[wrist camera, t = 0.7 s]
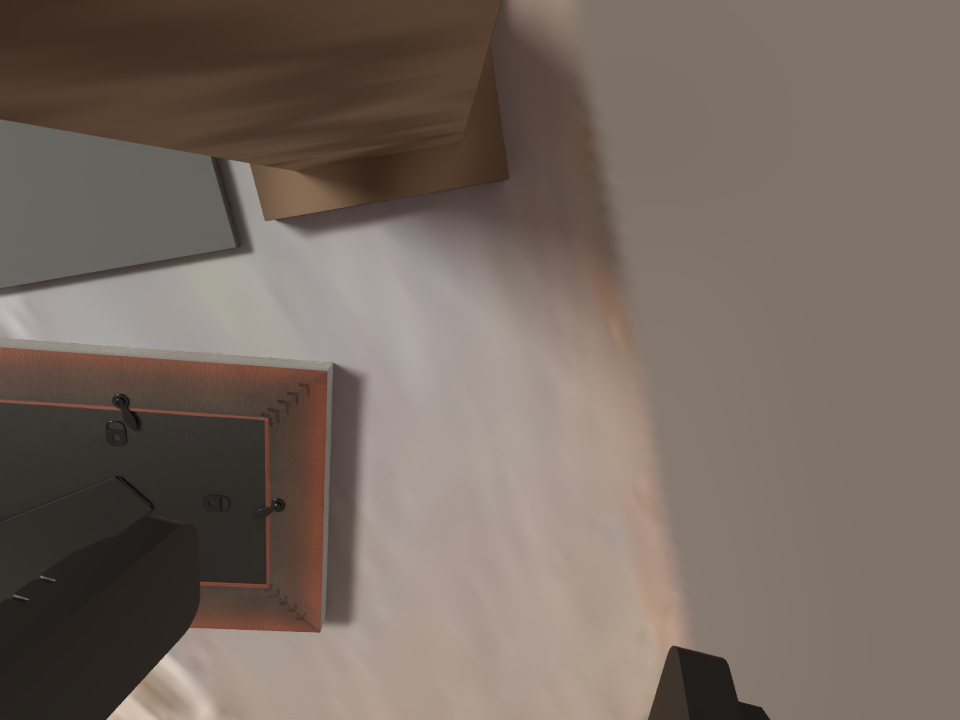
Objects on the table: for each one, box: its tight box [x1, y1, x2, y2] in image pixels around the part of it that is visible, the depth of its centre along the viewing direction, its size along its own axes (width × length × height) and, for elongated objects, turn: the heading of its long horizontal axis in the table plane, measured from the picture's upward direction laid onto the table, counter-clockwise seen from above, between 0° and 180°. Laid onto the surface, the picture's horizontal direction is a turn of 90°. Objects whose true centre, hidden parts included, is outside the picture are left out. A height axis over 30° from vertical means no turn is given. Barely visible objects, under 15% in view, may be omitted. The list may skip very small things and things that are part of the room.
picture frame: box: [0, 338, 333, 632], centre depth 32 cm, size 16×2×22 cm
